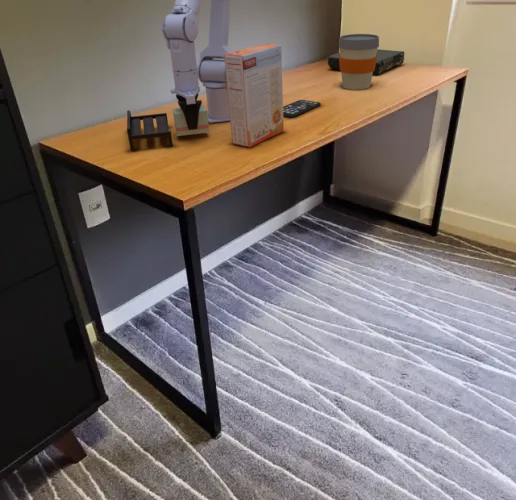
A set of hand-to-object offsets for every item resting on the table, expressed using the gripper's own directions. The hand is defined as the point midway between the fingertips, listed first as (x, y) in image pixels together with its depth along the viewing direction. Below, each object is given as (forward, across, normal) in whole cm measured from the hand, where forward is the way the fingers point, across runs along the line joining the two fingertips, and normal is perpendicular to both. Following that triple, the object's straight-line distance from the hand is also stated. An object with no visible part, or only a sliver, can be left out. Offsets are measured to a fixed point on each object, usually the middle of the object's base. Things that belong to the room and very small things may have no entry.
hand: (191, 125), depth 123 cm
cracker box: (+3, +7, +16) cm, 17 cm away
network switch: (+3, -57, +72) cm, 91 cm away
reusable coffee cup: (+3, -32, +58) cm, 66 cm away
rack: (+3, -2, -10) cm, 11 cm away
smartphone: (+3, -13, +32) cm, 34 cm away
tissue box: (+1, 0, 0) cm, 1 cm away
